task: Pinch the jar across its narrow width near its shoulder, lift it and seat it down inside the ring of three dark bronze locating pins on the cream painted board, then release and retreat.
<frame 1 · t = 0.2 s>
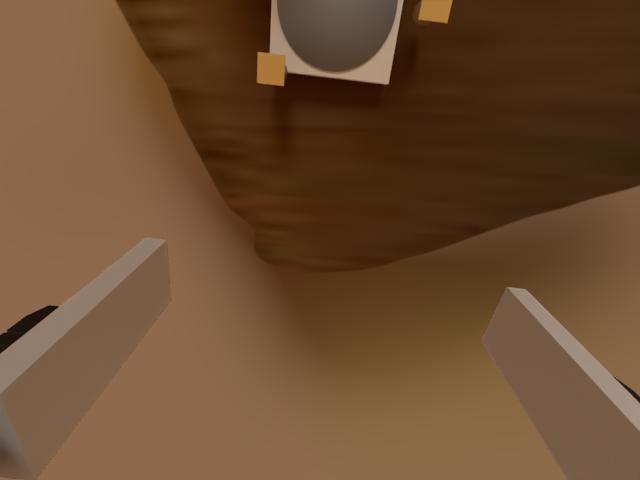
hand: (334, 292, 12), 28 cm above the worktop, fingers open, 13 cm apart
cradle board: (336, 10, 31), on the worktop
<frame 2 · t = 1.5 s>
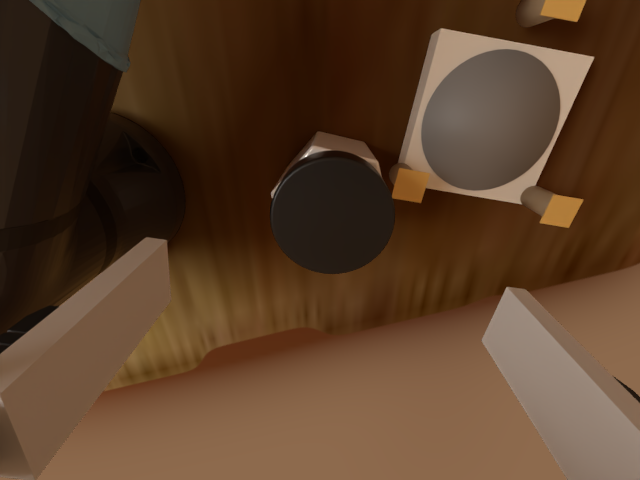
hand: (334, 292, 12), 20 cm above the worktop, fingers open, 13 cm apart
jar: (331, 176, 31), on the worktop
cradle board: (475, 123, 29), on the worktop
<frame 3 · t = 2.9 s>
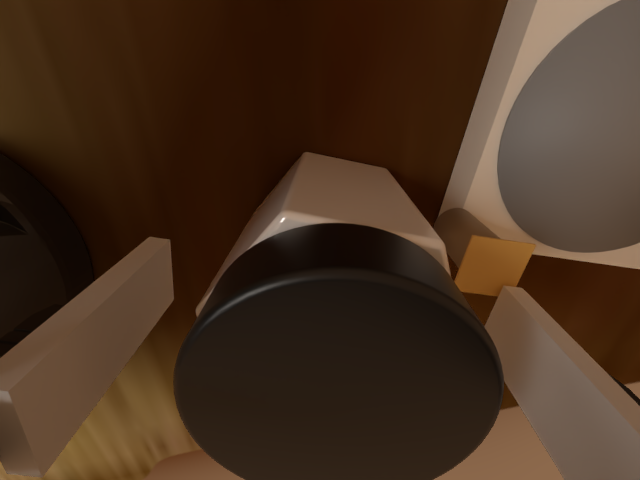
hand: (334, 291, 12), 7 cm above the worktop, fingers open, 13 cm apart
jar: (331, 223, 19), on the worktop
cradle board: (584, 132, 16), on the worktop
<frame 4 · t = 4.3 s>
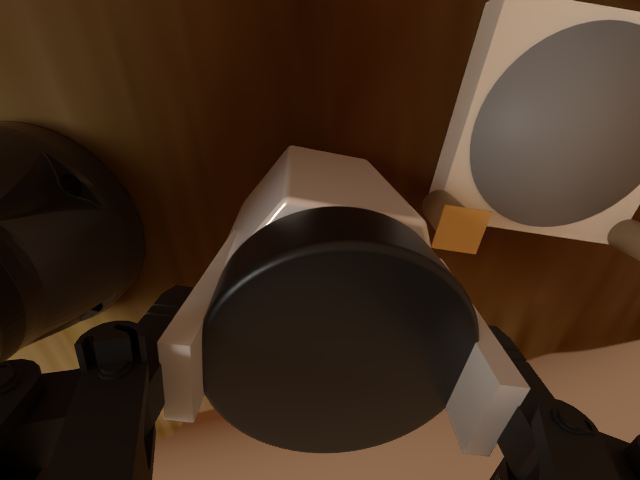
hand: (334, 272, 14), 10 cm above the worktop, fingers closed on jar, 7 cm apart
jar: (316, 213, 20), point 3 cm above the worktop, touching gripper
cradle board: (543, 131, 20), on the worktop
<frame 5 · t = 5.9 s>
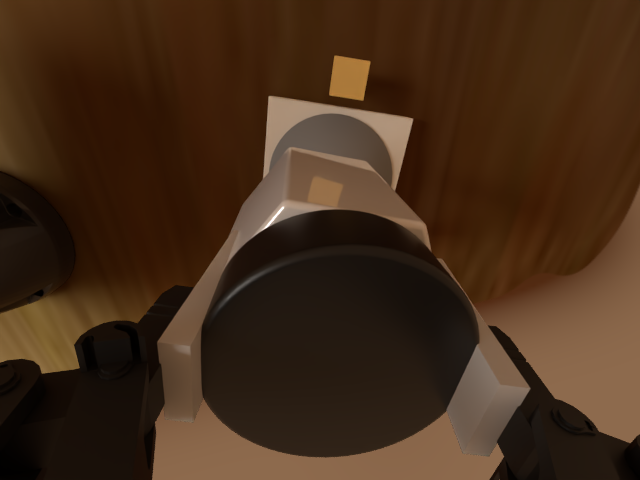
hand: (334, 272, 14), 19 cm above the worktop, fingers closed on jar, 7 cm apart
jar: (315, 215, 20), point 12 cm above the worktop, touching gripper
cradle board: (330, 172, 31), on the worktop
when the fingers open (10 cm above the worktop, at t = 7.8 s): jar stays where it is, resting on cradle board.
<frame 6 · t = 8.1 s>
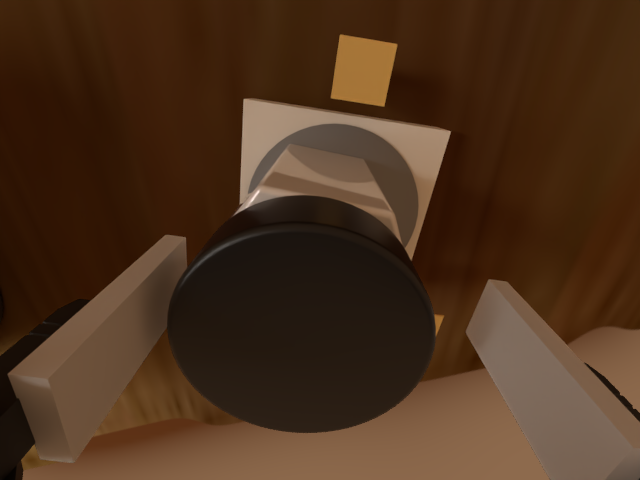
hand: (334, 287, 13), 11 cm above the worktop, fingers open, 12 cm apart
jar: (314, 210, 21), point 3 cm above the worktop, touching cradle board
cradle board: (331, 201, 23), on the worktop
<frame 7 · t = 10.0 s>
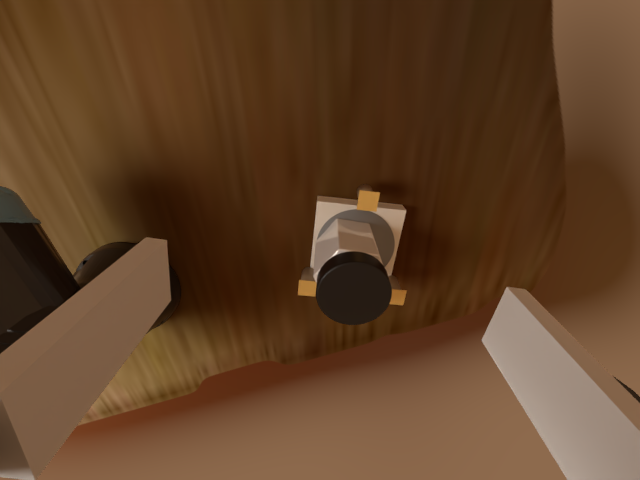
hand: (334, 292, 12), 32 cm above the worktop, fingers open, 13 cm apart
jar: (347, 245, 45), point 3 cm above the worktop, touching cradle board
cradle board: (353, 238, 47), on the worktop
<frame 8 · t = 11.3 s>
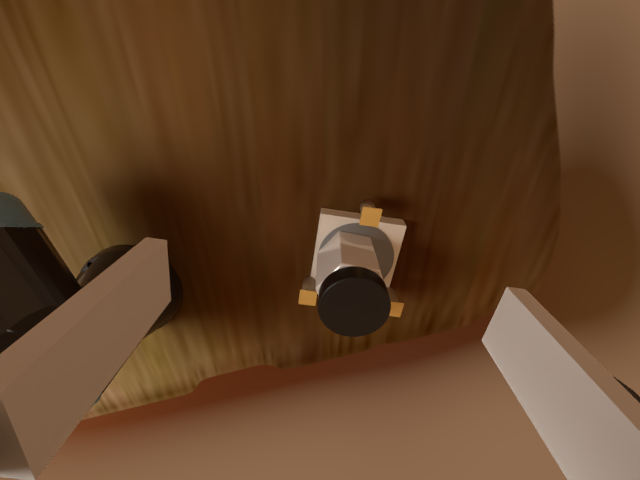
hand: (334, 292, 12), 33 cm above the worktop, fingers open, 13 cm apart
jar: (347, 256, 46), point 3 cm above the worktop, touching cradle board
cradle board: (354, 250, 48), on the worktop
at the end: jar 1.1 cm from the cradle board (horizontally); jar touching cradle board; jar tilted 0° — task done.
